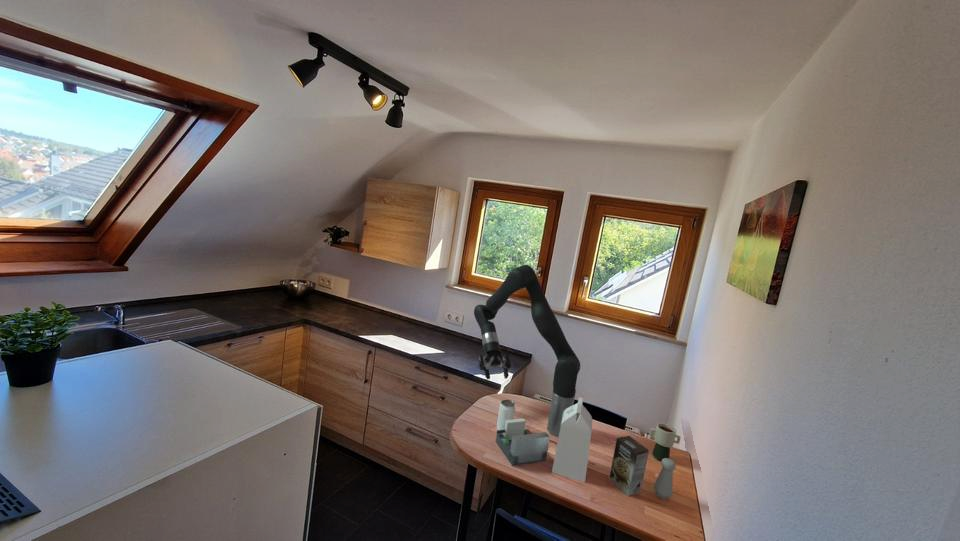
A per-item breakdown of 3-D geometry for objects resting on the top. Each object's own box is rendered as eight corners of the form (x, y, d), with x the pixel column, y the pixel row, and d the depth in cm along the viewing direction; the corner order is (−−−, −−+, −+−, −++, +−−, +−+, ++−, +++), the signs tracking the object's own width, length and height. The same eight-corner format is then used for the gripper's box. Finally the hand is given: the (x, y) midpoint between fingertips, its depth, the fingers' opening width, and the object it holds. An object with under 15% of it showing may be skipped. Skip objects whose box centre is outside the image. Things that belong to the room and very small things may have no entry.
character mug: (674, 457, 156) (680, 427, 154) (676, 467, 150) (682, 436, 148) (645, 448, 160) (651, 419, 158) (645, 458, 154) (651, 427, 152)
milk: (584, 482, 135) (596, 412, 131) (551, 472, 138) (562, 404, 134) (586, 462, 146) (597, 397, 142) (555, 453, 150) (565, 390, 146)
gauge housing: (527, 437, 158) (530, 415, 156) (546, 461, 144) (549, 436, 143) (495, 441, 153) (498, 418, 151) (512, 466, 139) (515, 441, 138)
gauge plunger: (520, 435, 157) (523, 418, 156) (523, 438, 155) (525, 421, 154) (494, 438, 152) (497, 421, 151) (496, 441, 151) (499, 423, 149)
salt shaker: (649, 488, 136) (656, 454, 134) (665, 489, 136) (672, 455, 134) (658, 501, 130) (665, 465, 128) (674, 502, 130) (682, 466, 128)
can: (510, 435, 158) (514, 408, 156) (495, 432, 159) (498, 405, 157) (512, 427, 164) (516, 401, 162) (497, 424, 165) (501, 397, 164)
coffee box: (608, 479, 138) (615, 437, 136) (621, 475, 141) (628, 434, 139) (628, 496, 130) (636, 453, 128) (641, 492, 133) (650, 449, 131)
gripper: (479, 340, 173) (485, 376, 165) (508, 340, 179) (515, 374, 170) (473, 347, 179) (479, 382, 170) (501, 347, 184) (508, 380, 176)
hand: (497, 378), depth 170 cm, fingers open, 8 cm apart
